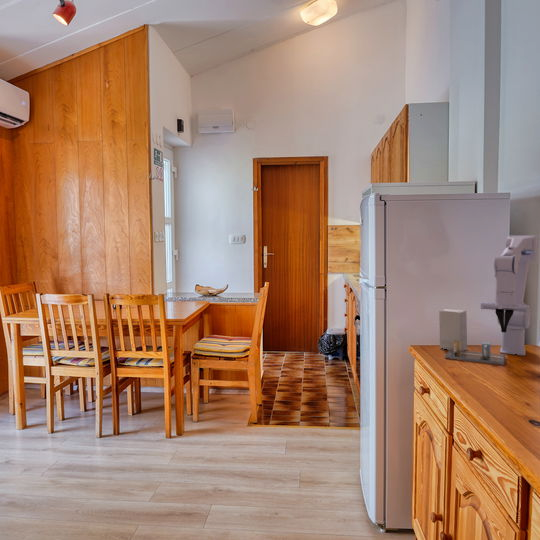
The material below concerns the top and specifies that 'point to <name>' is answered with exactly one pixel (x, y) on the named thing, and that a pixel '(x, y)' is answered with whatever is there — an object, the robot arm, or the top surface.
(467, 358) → the bolt plate
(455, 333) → the skincare box
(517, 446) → the top surface
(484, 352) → the sliding leg
